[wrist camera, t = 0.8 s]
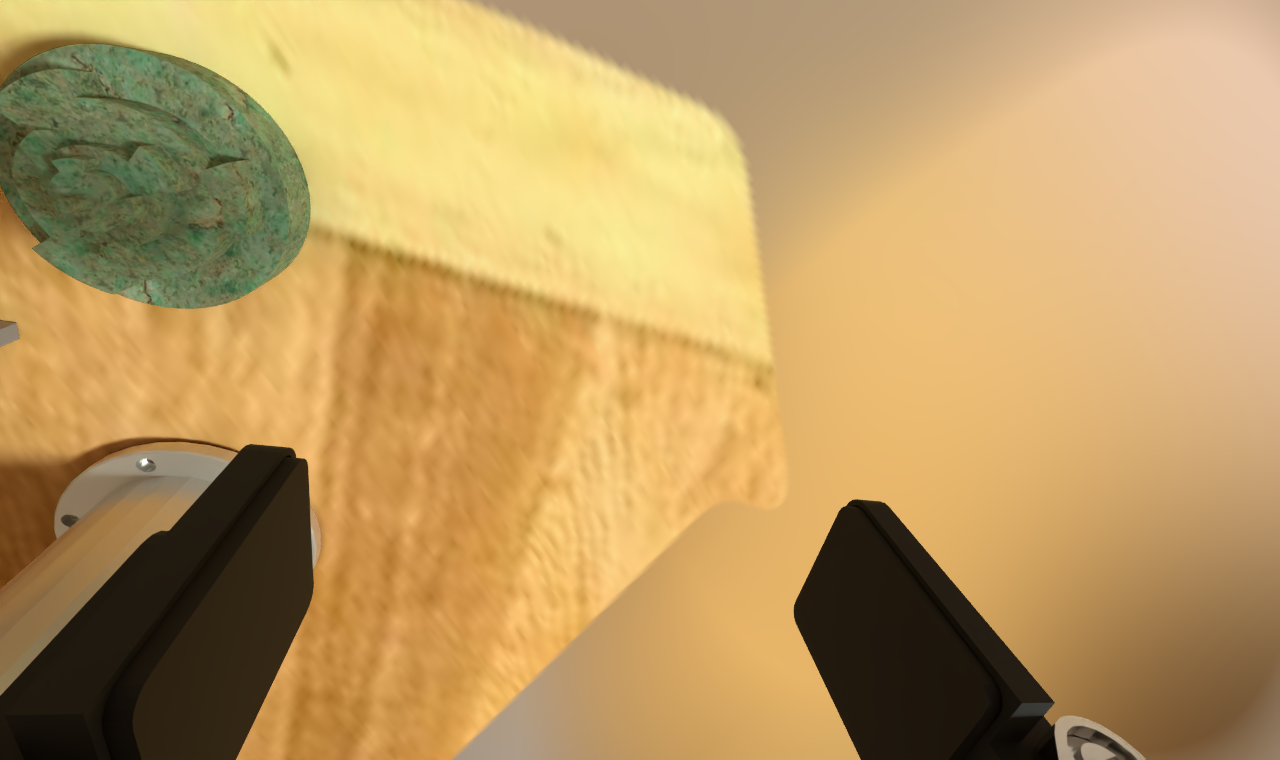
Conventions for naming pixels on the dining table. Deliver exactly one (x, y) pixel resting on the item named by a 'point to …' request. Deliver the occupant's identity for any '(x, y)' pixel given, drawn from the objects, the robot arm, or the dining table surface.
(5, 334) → the box
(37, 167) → the decorative artifact
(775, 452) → the dining table surface
